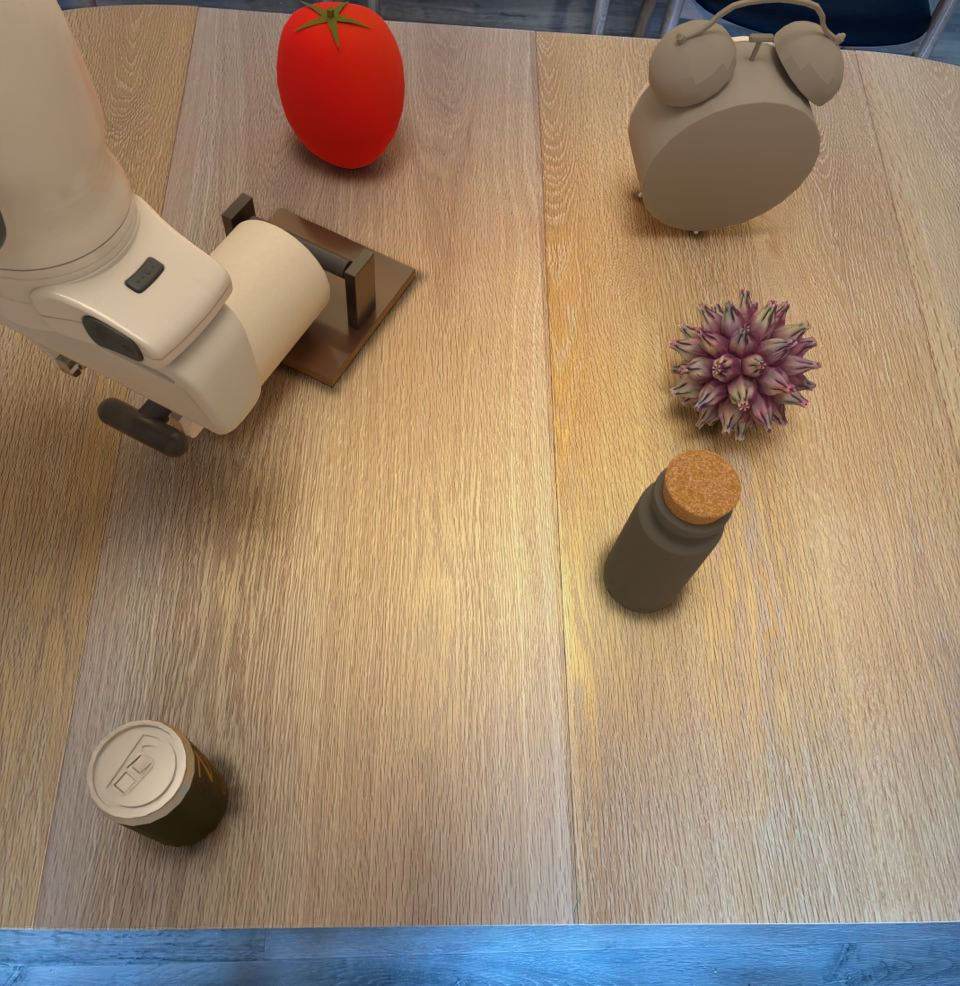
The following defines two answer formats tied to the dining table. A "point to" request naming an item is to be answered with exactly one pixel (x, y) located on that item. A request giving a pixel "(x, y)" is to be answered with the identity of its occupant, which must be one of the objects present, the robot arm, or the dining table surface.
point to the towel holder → (249, 314)
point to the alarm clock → (731, 118)
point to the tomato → (341, 81)
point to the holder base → (336, 295)
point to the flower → (743, 365)
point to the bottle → (672, 530)
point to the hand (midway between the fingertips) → (133, 395)
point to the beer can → (157, 783)
